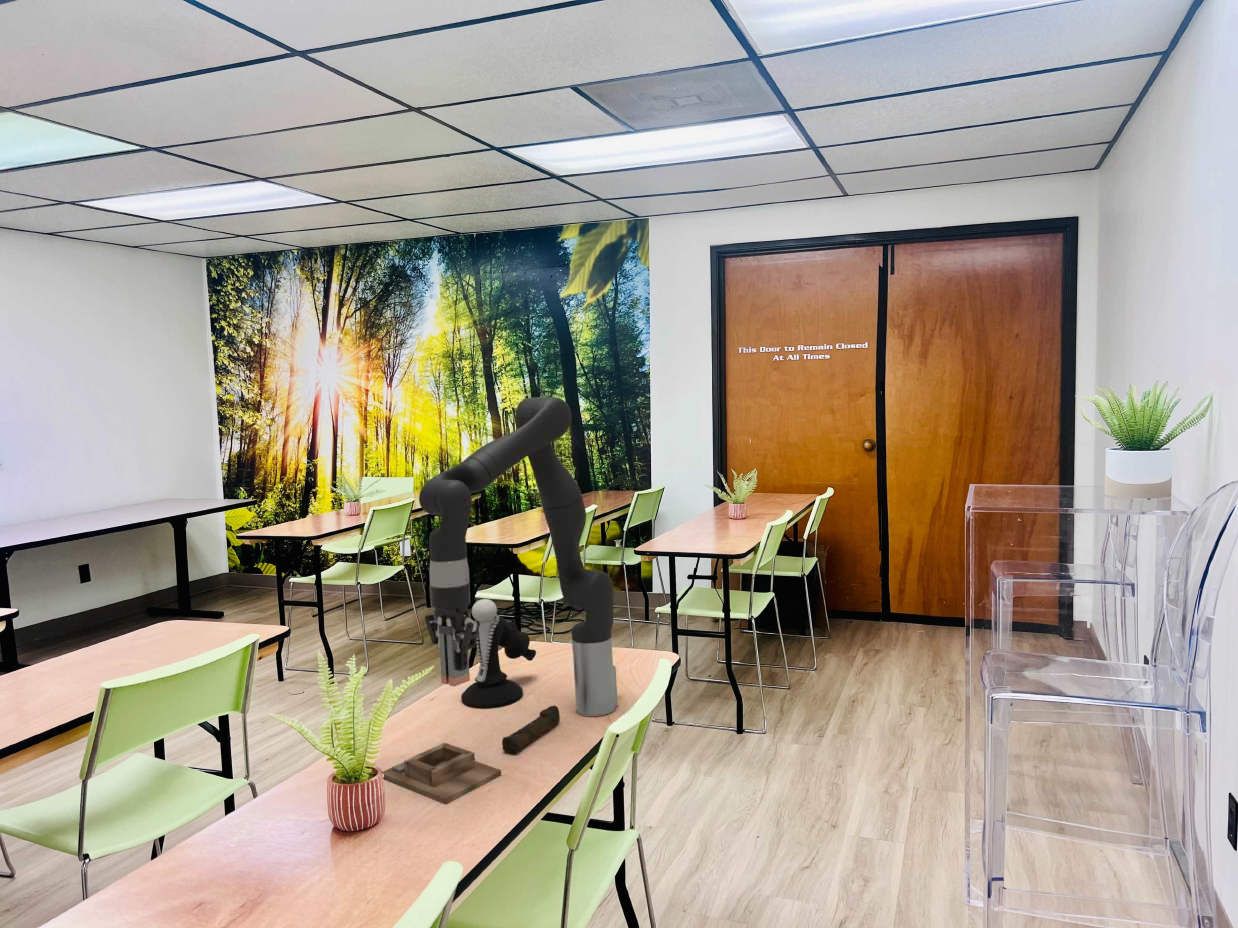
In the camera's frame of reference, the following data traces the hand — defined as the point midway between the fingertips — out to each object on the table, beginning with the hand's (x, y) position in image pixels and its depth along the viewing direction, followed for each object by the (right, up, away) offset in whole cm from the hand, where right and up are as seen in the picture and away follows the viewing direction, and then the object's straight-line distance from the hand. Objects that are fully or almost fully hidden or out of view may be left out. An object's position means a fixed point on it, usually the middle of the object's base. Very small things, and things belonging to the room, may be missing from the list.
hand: (454, 667), depth 167 cm
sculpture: (+3, -18, +48) cm, 52 cm away
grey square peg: (0, -3, 0) cm, 3 cm away
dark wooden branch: (+14, -20, +19) cm, 31 cm away
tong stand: (-3, -22, +2) cm, 22 cm away
